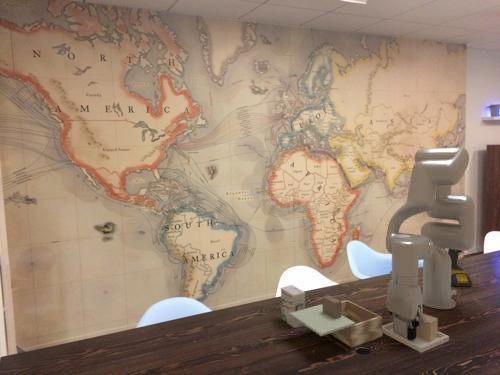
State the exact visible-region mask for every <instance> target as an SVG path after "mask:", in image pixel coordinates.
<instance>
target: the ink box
mask: <svg viewBox="0 0 500 375" xmlns="http://www.w3.org/2000/svg"><path fill="white" fill-rule="evenodd" d="M280 300H281V301H280V302H281V304H280V306H281V307H280V308H281V309H280V310H281V312H280V313H281V314H280V315H281V316H280V318H281V319H282V320H283V322H285V323H286V324H288V325H289V326H291V327H293V328H294V329H297V328H301V327H303V326H305V325H304V324H302V323H301V322H299V321H297V320H296V319H294V318H293V317H291V316H290V313H292V312H295V311H299V310H303V309H306V292H305V291H303V290H302V289H300V288H299V287H297V286H296V285H295V286H294V285H293V284H291V285H287V286H284V287H280Z"/></svg>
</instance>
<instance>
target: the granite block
mask: <svg viewBox="0 0 500 375" xmlns="http://www.w3.org/2000/svg"><path fill="white" fill-rule="evenodd" d="M413 323H414V322H413ZM408 327H409V322H408V319H406V318H404V317H401V316H396V317H394V333H395V334H397V335H399V336H401V337H403V338H405V339H407V340H408Z"/></svg>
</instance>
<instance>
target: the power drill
mask: <svg viewBox="0 0 500 375" xmlns="http://www.w3.org/2000/svg"><path fill="white" fill-rule="evenodd" d="M447 252H448V254H449V256H450V258H451V286H453V287H457V288H459V287H460V288H461V287H462V288H463V287H466V288H468V287H470V286H472V285H473V282H472V280H471V278H470V276H469V274H468V273H467V271H466V270H464V269H463V268H462V267H460V266H459V265H458V259H459V255H460V254H461V253H463V250H454V249H448V250H447Z"/></svg>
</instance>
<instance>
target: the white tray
mask: <svg viewBox="0 0 500 375" xmlns="http://www.w3.org/2000/svg"><path fill="white" fill-rule="evenodd" d="M382 334H385V335H387V337H390V338H392V339H393V340H396V341H398V342H400V343H402V344H403V345H406V346H408V347H409V348H411V349H413V350H415V351H416V352H418V353H421V354H422V353H424V352H426V351H428V350H430V349H433V348H436V347H438V346H440V345H442V344H445V343H447V342H449V341H450V336H449V335H447V334H445V333H443V332H441V331H437V338H435V339H434V340H432V341H431V342H430V341H427V340H424V339H422V338H419V337H417V336H416V338H415V339H413V340H410V341H409V340H407V339H405V338H403V337H401V336H399V335H397V334H395V333H394V332H393V321H392V322H390V323H386V324H384V325H382Z"/></svg>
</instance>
